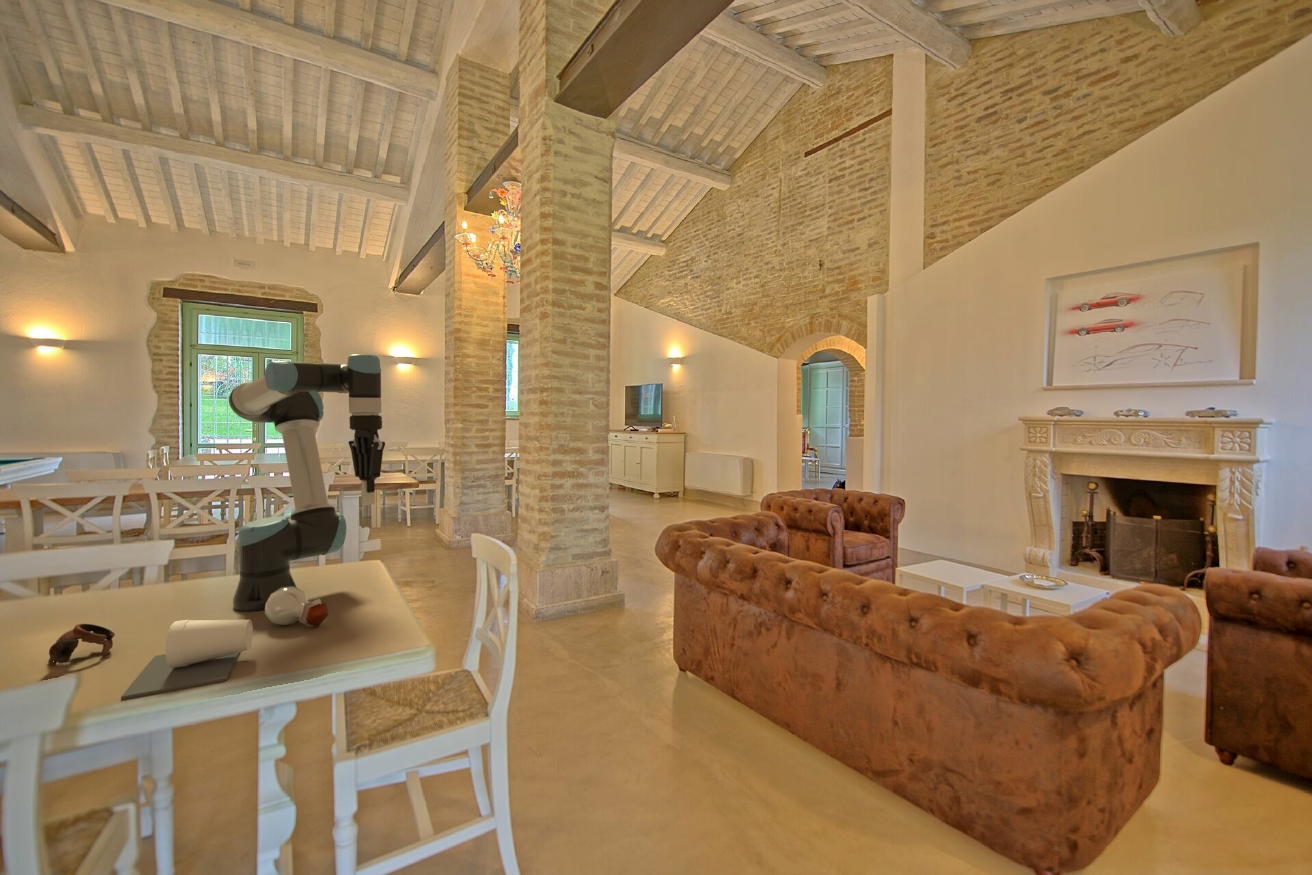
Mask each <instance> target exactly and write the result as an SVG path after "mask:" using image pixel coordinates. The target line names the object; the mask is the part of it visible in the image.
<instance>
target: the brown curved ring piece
mask: <svg viewBox="0 0 1312 875" xmlns="http://www.w3.org/2000/svg"><path fill="white" fill-rule="evenodd" d="M115 634H116V633H115V632H114V631H112V630H110V629H108V628H106V627H104V626H101V625H96V624H92V623H91V624H89V623H77V624H75V626H74V628H73V629H70V630H68V631H65V632H64V633H62V634H61V636H59V637H58V639H57V640H56V642H55V643H53V644H52V645H50V648H49V651H48V655H49V659H48V661H47V662H48V664H49V665H50V666H52V667H55V666H56V665H57V663H58V664H64V663H68V662H70V660H71V657H72V655H73V653H74V651H75V650H76V649H77V648H78V645H79V643H80V642H79V640H81V642H83V643H89V644H96V645H102V650H101V652H100V655H101V656H107V655H108V654H109V652H110V650H111V649H112V648H113V645H114V642H113V638H114V637H115V636H116V635H115ZM53 661H54V662H53Z"/></svg>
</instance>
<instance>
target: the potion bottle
mask: <svg viewBox="0 0 1312 875" xmlns="http://www.w3.org/2000/svg"><path fill="white" fill-rule="evenodd" d="M296 587H297V586H296ZM296 587H294V586H292V587H281V588H280V589H278V590H277V591H275V592H274V593H272V594H271V595H270V597H269V598H268V600H267V602H266V605H265V609H264V615H265V616H266V617H267V618H268V619H269V621H270V622H271V623H272V624H273V623H274V624H276V625H278V626H287V625H289V626H290V625H294V624H295V623H297V622H298V621H299V623H301V624H303V625H306V626H308V627H314V628H319V627H320V625H322V623H323V622H324V621H325V619H326V618H327V617H328V616H329V611H328V610H329V609H328V607H327V603H326V601H324V602H321V598H317V599H314V600H312V601H309V600H310V598H309V596H308V595H307V594H306V592H305V590H302V589H301V588H298V587H297V588H296Z"/></svg>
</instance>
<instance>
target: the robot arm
mask: <svg viewBox="0 0 1312 875" xmlns="http://www.w3.org/2000/svg"><path fill="white" fill-rule="evenodd" d="M380 361H381V359H380V358H379V356H378V355H374V354H364V353H363V354H360V353H359V354H358V353H357V354H356V353H355V354H349V356H348V357H347V364H345V363H344V364H339V363H338V364H337V363H322V362H305V361H293V360H292V361H290V360H272V361H269V362H268V363H267V364H266V367H265V370H264V374H263V376H261V377H259V378H257V379H255V380H254V381H248V382H243V383H241V384H238V385H237V386H235V388H233V389H232V390H231V392H230V393H229V396H228V403H229V407H230V408H231V410H232V412H233V413H234V414H236V415H237V416H238V417H239V418H241V419H244V420H246V421H249V422H253V423H258V424H259V423H264V424H265V423H267V424H269V423H270V424H271V423H272V424H274V430H275V431H276V432H277V433H279V434H281V436H282V441H283V442H282V443H283V447H284V451H285V452H284V453H285V458H286V464H287V469H288V475H289V480H290V481H289V482H290V487H291V491H292V498H293V502H294V503H293V504H294V510H293V511H292V512H291V514H290V519H289V518H288V517H287V516H283V515H277V516H273V517H272V516H268V517H264V518H260V519H257V520H253V521H252V520H251V521H249V522H247V523H245V524H243V525H242V526H241V527H240V528H239V530H238V538H237V540H238V541H237V545H238V560H239V563H238V564H239V580H238V583H237V587H236V590H235V593H234V595H233V598H232V599H233V600H232V605H233V606H232V608H233V609H234V610H236V611H243V612H246V611H247V612H251V611H252V612H253V611H261V610H263V611H264V610H265V605H266V602H267V600H268V598H269V597H270V595H271V594H272V593H274V592H275V591H277V590H278V589H280V588H281V587H292V586H294V587H296V588H298V587H297V584H296V582H295V581H294V578H293V575H292V573H291V569H290V568H291V567H290V566H291V565H290V563H291V561H297V560H302V559H305V558H313V557H317V556H326V555H329V554H330V553H331V554H332V553H336V552H339V550H341V549H342V548H343V546H344V544H345V541H346V538H347V523H346V522H347V521H346V518H345V517H344V514H342V513H339V512H336V508H335V506H334V505H332V504H330V503H329V502H328V501H329V500H328V496H327V490H326V486H325V480H324V475H323V470H322V463H321V459H320V454H319V450H318V443H317V438H316V432H315V430H316V429H317V428H318V426H319V425H320V424H319V422H320V421H321V420H322V419H323V418H324V413H325V412H324V407H325V406H324V402H323V399H322V396H321V394H320V393H337V394H348V412H349V414H351V415H350V416H349V429H350V430H351V431H354V436H353V438H354V439H352V440H349V441H348V445H349V449H350V453H351V457H352V464H353V465H352V466H353V469H354V476H355V478H358V479H359V480H360V491H361V493H360V494H361V506H364V507H365V506H371V505H376V495H375V494H376V492H375V491H376V489H375V487H376V485H375V484H376V483H375V480H377V478H380V477H381V473H382V472H381V470H382V462H383V455H384V454H383V453H384V449H385V447H386V442H385V441H381V440H380V439H379V438H380V436H379V433H378V430H381V429H382V428H383V417H382V415H380V414H382V374H381V373H382V369H381V362H380Z"/></svg>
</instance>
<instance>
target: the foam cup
mask: <svg viewBox="0 0 1312 875" xmlns="http://www.w3.org/2000/svg"><path fill="white" fill-rule="evenodd" d="M253 628H254V627H253V623H252V620H251V619H209V620H207V619H203V620H201V619H200V620H199V619H197V620H196V619H193V620H192V619H182V620H175V621H174V622H173V623H172V624H171V625H170V627H169V630H168V631H167V637H166V641H165V654H166V660H167V664H168V665H169V667H170V668H179V667H186V666H188V665H191V664H195V663H199V662H203V661H207V660H211V659H215V658H219V657H223V656H226V655H230V654H234V653H238V652H240V653H241V652H245V651H249V650H250V648H251V646H252V642H253V637H254V636H253V633H254V631H253V630H254V629H253Z"/></svg>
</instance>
